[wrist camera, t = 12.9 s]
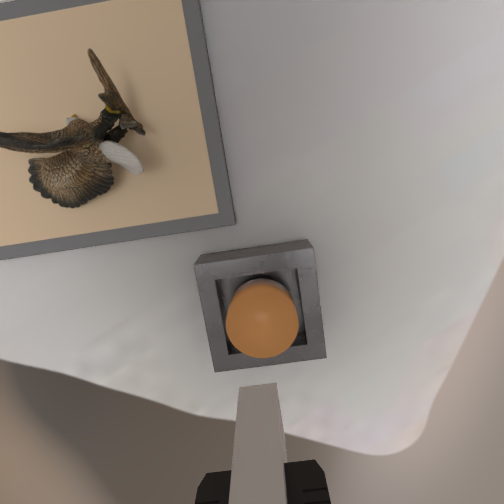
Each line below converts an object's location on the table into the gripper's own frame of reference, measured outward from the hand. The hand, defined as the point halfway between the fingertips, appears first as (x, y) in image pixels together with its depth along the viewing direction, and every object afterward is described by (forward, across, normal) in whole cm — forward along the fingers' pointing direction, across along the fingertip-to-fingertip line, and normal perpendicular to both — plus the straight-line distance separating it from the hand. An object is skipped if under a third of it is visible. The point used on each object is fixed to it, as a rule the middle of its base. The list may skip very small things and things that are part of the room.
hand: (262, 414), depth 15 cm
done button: (+11, 0, 0) cm, 11 cm away
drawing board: (+14, -10, +14) cm, 22 cm away
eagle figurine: (+13, -10, +13) cm, 21 cm away
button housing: (+14, 0, 0) cm, 14 cm away
